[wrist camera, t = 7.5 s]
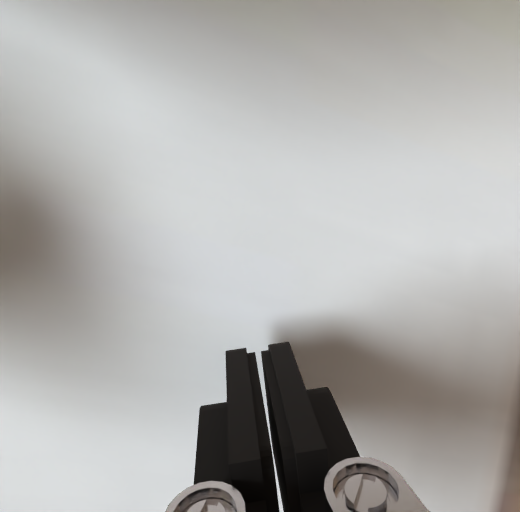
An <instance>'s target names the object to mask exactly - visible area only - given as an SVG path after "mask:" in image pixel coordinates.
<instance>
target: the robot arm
mask: <svg viewBox="0 0 520 512" xmlns="http://www.w3.org/2000/svg"><path fill="white" fill-rule="evenodd" d="M268 348H269V350H267V351H261V355H262V363H263V372H264V380H265V389H266V397H267V406H268V414H269V423H270V431H271V440H272V447H273V453H274V459H275V464H276V470H277V476H278V481H279V487H280V493H281V499H282V504H283V510H284V512H429V511H428V510H427V508H426V507H425V506H424V505H423V503H422V502H421V501H420V499H419V498H418V497H417V495H416V494H415V493H414V491H413V490H412V489H411V488H410V486H409V485H408V484H407V482H406V481H405V480H404V478H403V477H402V476H401V475H400V474H399V473H398V472H397V471H396V470H395V469H394V468H393V467H391V466H389V465H388V464H386V463H384V462H382V461H379V460H376V459H373V458H367V457H360V456H359V453H358V451H357V449H356V447H355V445H354V442H353V440H352V438H351V436H350V434H349V431H348V429H347V427H346V425H345V423H344V421H343V418H342V416H341V414H340V412H339V410H338V407H337V405H336V403H335V401H334V399H333V396H332V394H331V392H330V390H329V388H327V387H324V388H317V389H310V390H306V388H305V386H304V383H303V380H302V377H301V374H300V372H299V369H298V366H297V363H296V360H295V358H294V355H293V352H292V349H291V346H290V344H289V342H285V343H278V344H271V345H268ZM226 380H227V402H224V403H218V404H211V405H204V406H201V407H200V412H199V425H198V438H197V451H196V463H195V476H194V485H193V486H190V487H188V488H186V489H185V490H184V491H182V492H181V493H179V494H178V495H177V496H176V497H175V498H174V499H173V500H172V502H171V503H170V504H169V505H168V507H167V509H166V511H165V512H279V505H278V497H277V488H276V480H275V472H274V464H273V457H272V450H271V444H270V438H269V432H268V426H267V420H266V415H265V409H264V403H263V397H262V391H261V385H260V380H259V374H258V368H257V362H256V356H255V352H253V353H247V352H246V348H243V349H236V350H229V351H226Z"/></svg>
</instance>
